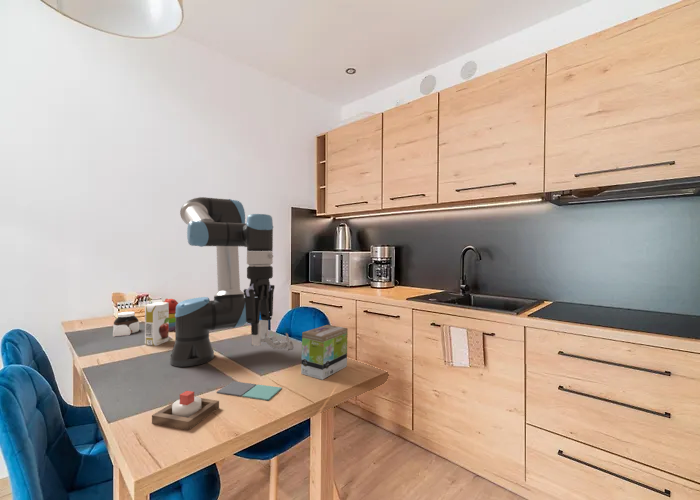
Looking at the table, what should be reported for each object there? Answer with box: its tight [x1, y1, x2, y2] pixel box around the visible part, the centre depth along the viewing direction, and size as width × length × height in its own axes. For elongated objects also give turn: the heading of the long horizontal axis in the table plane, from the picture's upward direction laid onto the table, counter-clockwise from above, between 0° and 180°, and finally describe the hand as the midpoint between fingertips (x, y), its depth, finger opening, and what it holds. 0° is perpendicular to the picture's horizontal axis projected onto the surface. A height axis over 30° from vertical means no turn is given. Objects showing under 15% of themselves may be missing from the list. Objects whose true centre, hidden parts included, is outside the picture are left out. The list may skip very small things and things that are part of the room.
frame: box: [151, 397, 220, 431], centre depth 83 cm, size 11×11×2 cm
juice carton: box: [144, 301, 170, 347], centre depth 142 cm, size 8×9×19 cm
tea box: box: [300, 324, 349, 381], centre depth 114 cm, size 15×10×15 cm, turn 148°
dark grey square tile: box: [216, 380, 257, 398], centre depth 98 cm, size 8×8×1 cm
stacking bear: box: [163, 298, 179, 332], centre depth 163 cm, size 11×10×18 cm
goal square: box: [242, 383, 283, 401], centre depth 96 cm, size 8×8×1 cm
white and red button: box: [171, 390, 202, 418], centre depth 83 cm, size 7×7×6 cm
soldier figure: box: [260, 332, 294, 352], centre depth 92 cm, size 8×5×12 cm
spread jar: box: [112, 311, 140, 338], centre depth 155 cm, size 12×11×12 cm
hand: (260, 343), depth 96 cm, fingers closed on soldier figure, 3 cm apart
